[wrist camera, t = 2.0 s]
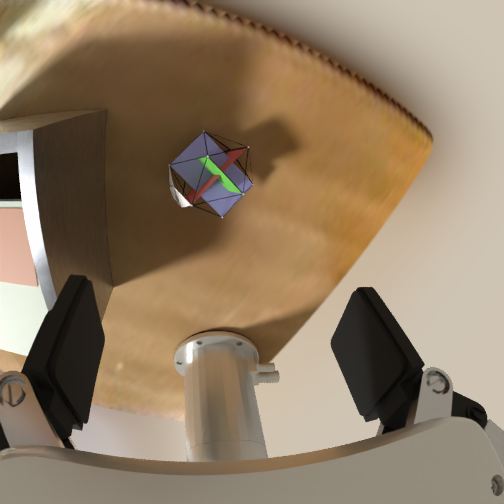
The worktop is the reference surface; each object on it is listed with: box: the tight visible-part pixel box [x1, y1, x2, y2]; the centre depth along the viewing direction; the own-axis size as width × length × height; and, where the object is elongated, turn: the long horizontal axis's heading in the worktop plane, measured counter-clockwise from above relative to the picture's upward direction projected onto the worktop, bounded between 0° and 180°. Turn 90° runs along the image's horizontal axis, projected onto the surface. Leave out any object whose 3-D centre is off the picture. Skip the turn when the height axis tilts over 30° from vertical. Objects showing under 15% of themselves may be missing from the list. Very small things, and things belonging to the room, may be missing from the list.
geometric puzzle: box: [169, 131, 254, 218], centre depth 25 cm, size 7×7×8 cm
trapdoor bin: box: [0, 109, 113, 323], centre depth 20 cm, size 16×21×14 cm
